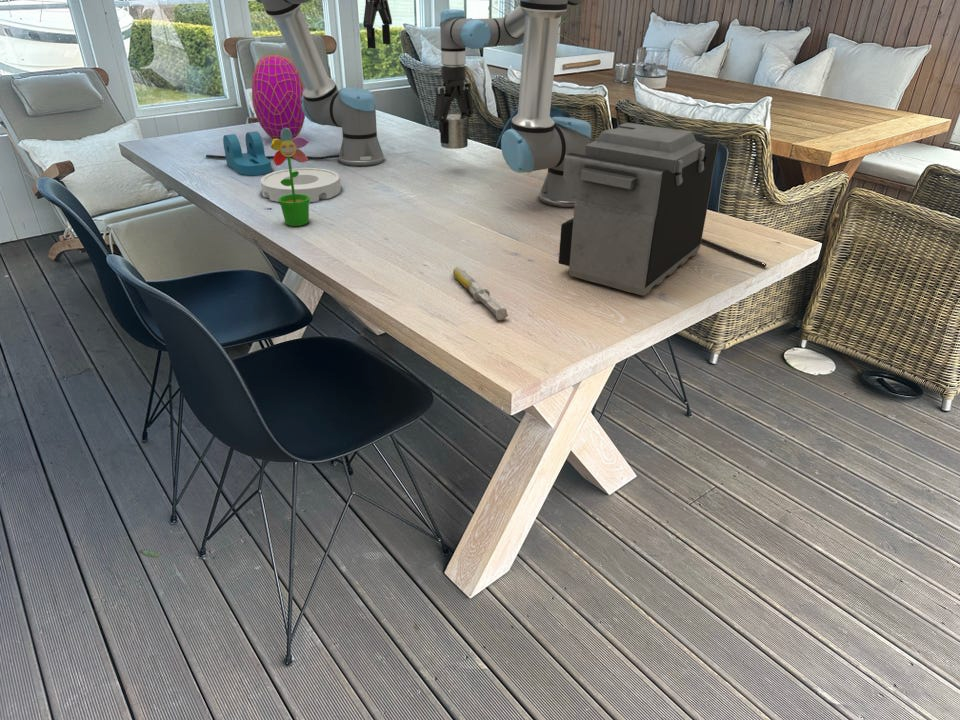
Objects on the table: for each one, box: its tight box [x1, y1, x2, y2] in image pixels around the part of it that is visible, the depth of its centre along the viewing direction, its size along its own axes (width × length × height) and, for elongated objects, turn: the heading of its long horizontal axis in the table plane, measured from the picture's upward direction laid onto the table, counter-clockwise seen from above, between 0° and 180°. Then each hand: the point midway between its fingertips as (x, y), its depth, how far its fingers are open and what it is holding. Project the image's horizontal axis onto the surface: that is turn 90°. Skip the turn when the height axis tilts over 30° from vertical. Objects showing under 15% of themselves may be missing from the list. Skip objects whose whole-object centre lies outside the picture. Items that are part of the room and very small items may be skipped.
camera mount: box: [222, 131, 272, 176], centre depth 226 cm, size 18×10×10 cm, turn 35°
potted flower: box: [270, 128, 310, 227], centre depth 177 cm, size 9×8×25 cm
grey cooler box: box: [558, 122, 720, 297], centre depth 154 cm, size 37×22×30 cm, turn 144°
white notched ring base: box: [260, 167, 342, 203], centre depth 207 cm, size 23×23×4 cm
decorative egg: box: [251, 54, 306, 141], centre depth 257 cm, size 19×19×30 cm
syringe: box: [452, 266, 509, 321], centre depth 145 cm, size 25×4×3 cm, turn 21°
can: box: [440, 113, 469, 150], centre depth 222 cm, size 9×9×9 cm
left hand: (379, 46), depth 251 cm, fingers open, 13 cm apart
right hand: (454, 140), depth 223 cm, fingers closed on can, 9 cm apart
